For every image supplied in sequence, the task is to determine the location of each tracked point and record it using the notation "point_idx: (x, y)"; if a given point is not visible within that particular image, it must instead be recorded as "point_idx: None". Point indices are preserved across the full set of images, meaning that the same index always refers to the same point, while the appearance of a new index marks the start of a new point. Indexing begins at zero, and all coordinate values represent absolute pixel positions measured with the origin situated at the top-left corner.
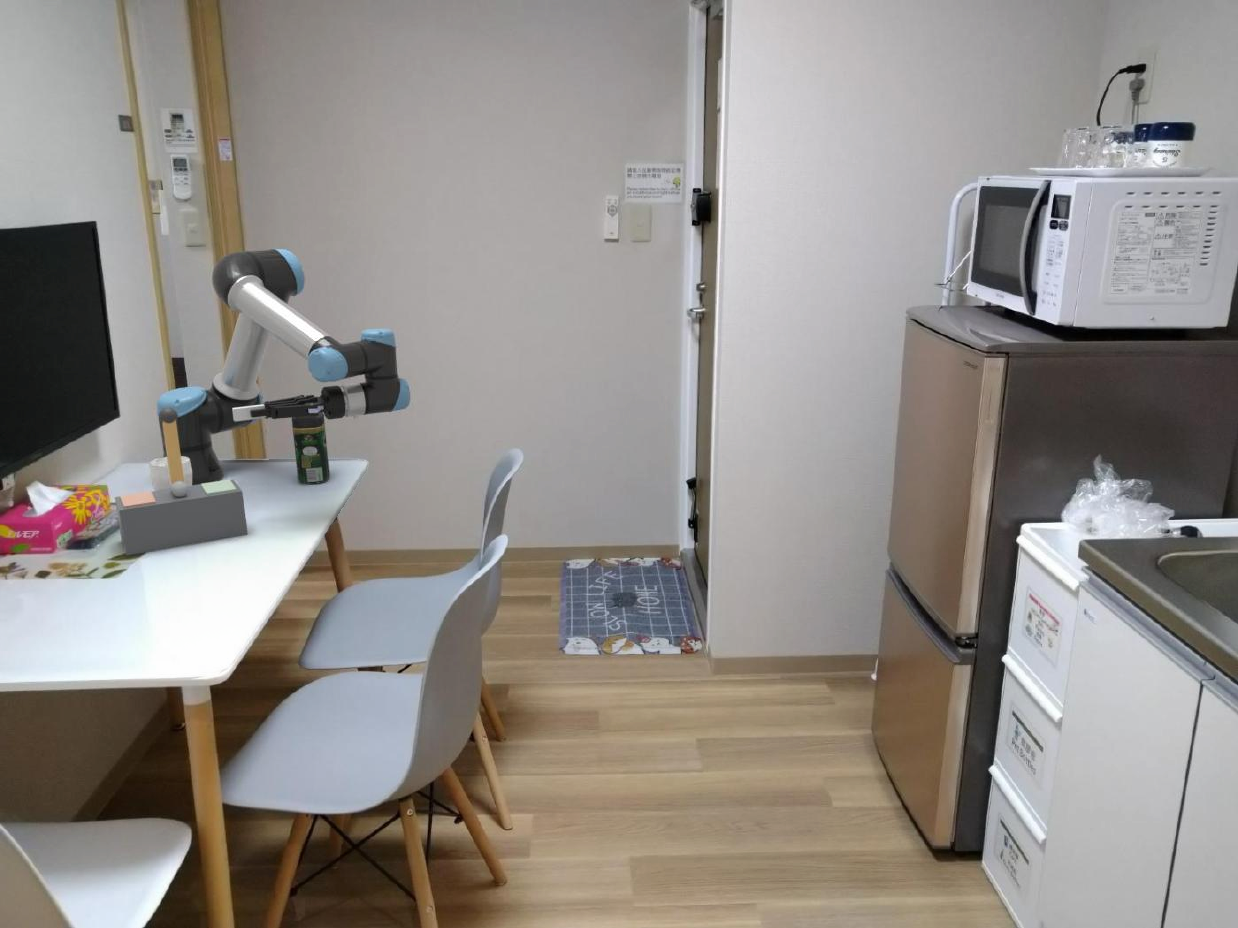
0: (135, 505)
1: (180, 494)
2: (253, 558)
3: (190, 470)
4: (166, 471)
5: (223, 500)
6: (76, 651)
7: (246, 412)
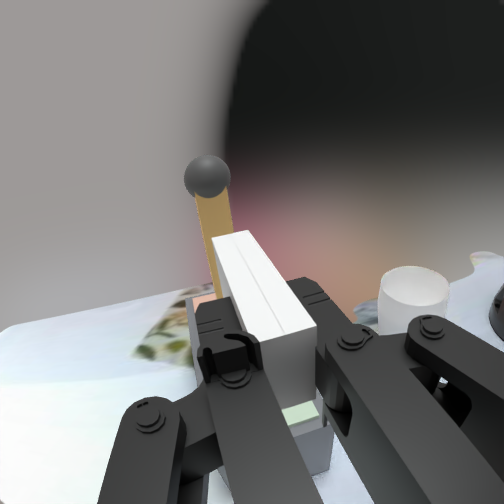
0: (194, 308)
1: None
2: None
3: None
4: (380, 297)
5: None
6: (10, 347)
7: (226, 292)
